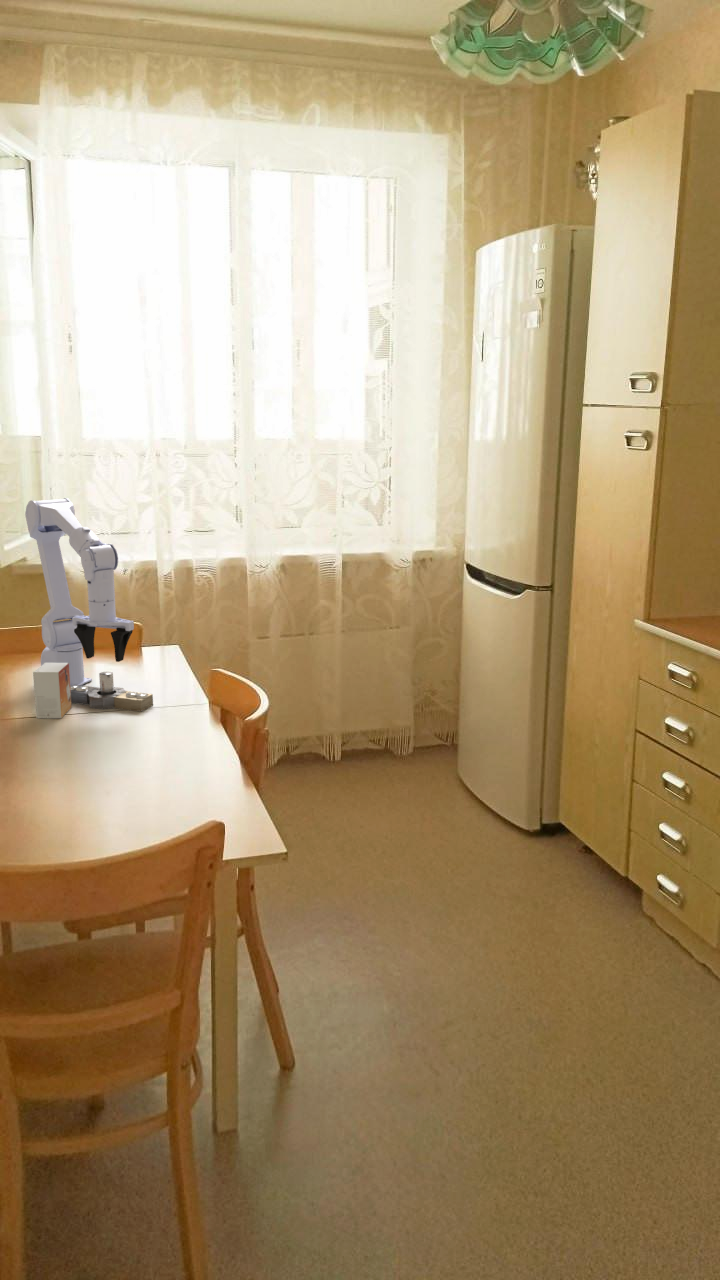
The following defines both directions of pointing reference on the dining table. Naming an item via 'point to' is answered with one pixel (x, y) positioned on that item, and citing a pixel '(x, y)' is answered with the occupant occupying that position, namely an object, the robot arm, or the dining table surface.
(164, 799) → the dining table surface
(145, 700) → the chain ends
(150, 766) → the dining table surface
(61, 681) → the small box
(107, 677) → the pin
